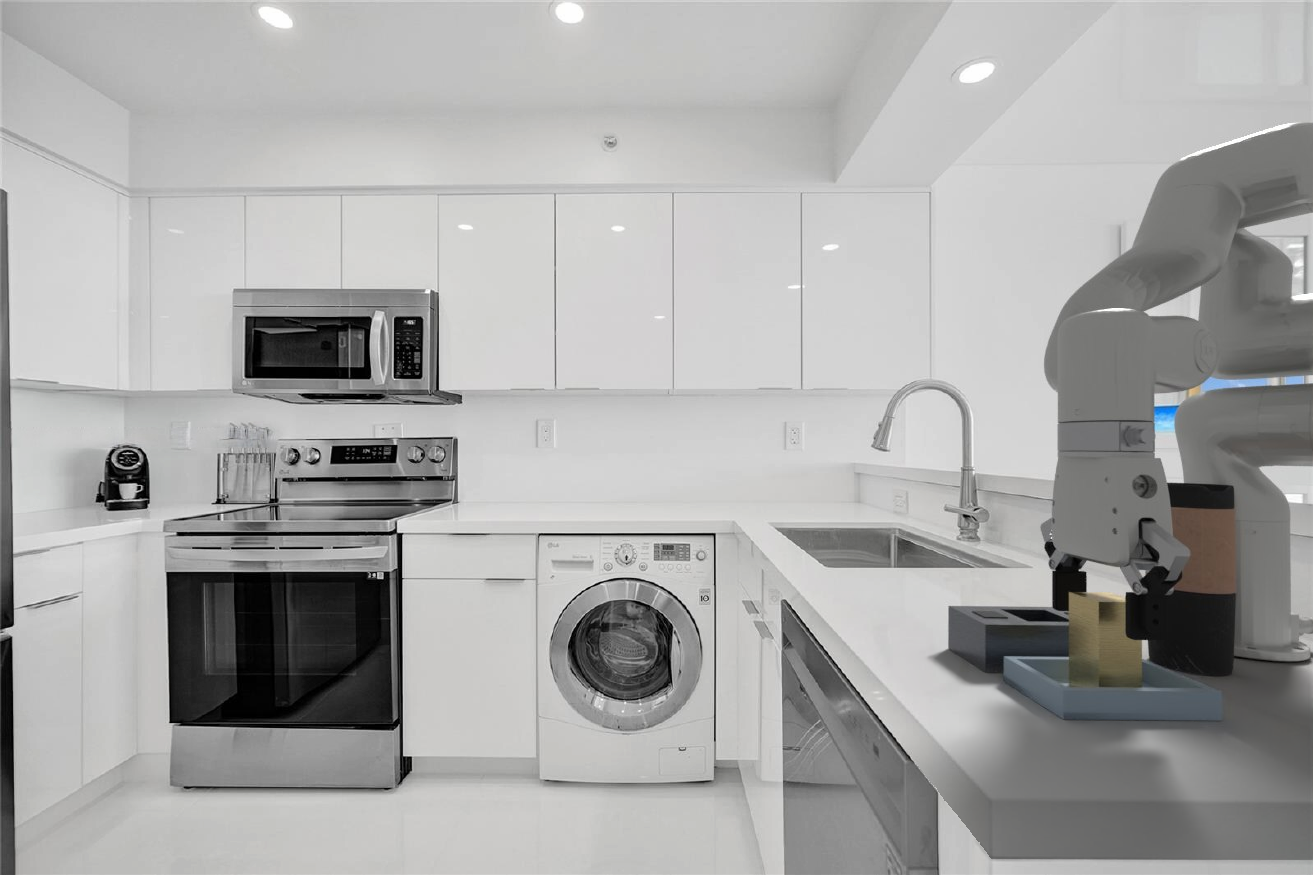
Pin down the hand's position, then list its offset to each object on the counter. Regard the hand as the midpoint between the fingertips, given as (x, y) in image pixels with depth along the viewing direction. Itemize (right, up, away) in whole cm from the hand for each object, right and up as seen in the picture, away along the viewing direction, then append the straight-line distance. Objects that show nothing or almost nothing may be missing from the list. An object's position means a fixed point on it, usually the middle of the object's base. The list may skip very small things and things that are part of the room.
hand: (1104, 623), depth 59 cm
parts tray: (0, -7, 0) cm, 7 cm away
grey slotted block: (0, -7, +11) cm, 13 cm away
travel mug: (+17, -8, +10) cm, 21 cm away
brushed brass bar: (0, -7, 0) cm, 6 cm away
